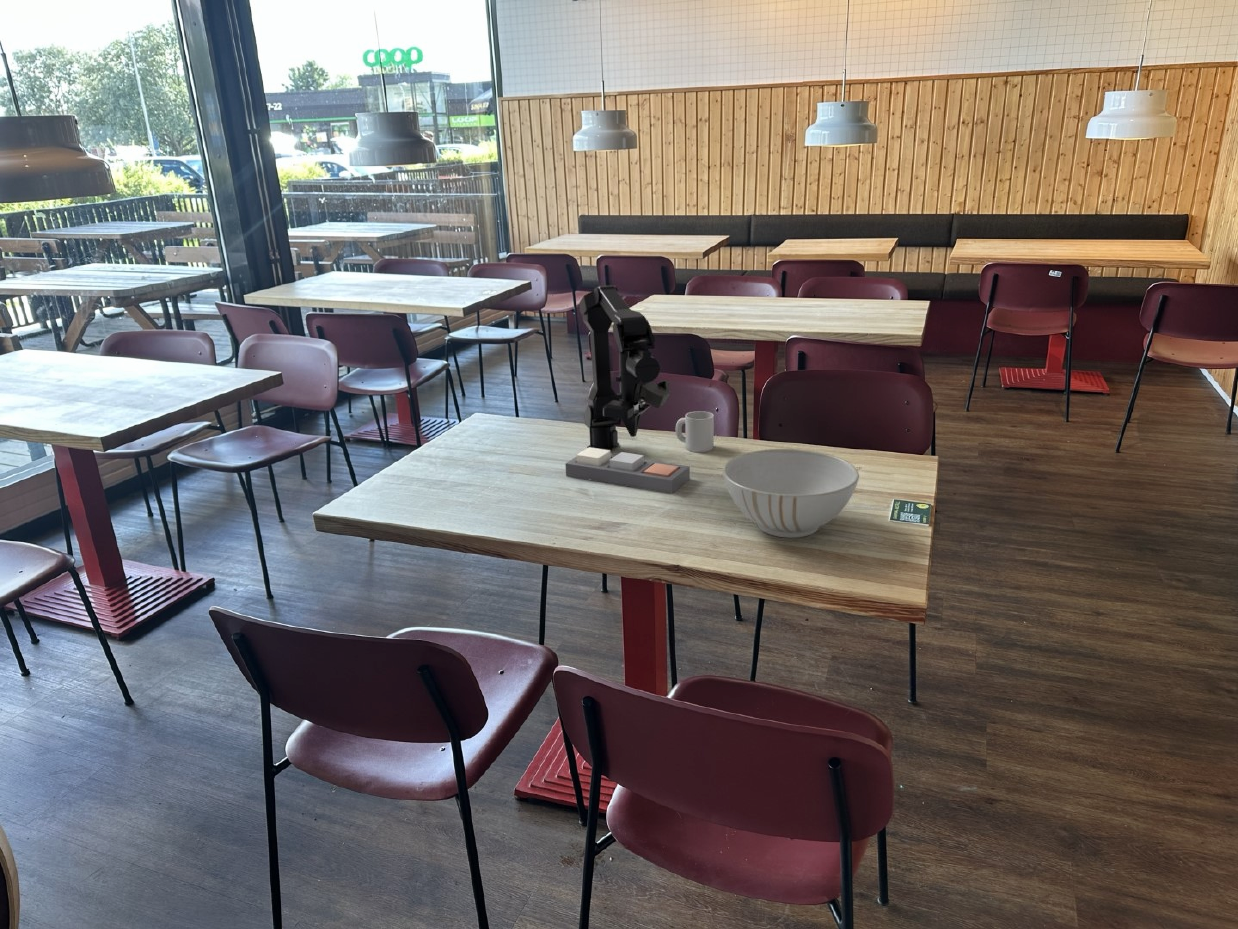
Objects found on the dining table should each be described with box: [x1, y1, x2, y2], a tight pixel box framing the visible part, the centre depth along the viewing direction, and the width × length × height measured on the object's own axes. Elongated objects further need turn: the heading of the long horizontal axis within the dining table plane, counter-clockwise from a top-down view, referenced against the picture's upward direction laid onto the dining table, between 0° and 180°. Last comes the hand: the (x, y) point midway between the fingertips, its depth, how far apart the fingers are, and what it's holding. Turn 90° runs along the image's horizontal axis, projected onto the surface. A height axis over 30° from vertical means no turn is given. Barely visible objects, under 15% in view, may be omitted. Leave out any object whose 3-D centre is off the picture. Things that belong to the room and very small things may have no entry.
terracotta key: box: [644, 463, 678, 477], centre depth 203 cm, size 6×6×2 cm
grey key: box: [609, 451, 645, 472], centre depth 207 cm, size 6×6×2 cm
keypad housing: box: [565, 453, 691, 495], centre depth 207 cm, size 28×10×3 cm, turn 62°
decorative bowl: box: [722, 448, 860, 539], centre depth 177 cm, size 27×27×12 cm
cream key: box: [576, 447, 612, 466], centre depth 211 cm, size 6×6×2 cm
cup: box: [675, 410, 715, 453], centre depth 225 cm, size 7×10×9 cm
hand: (633, 436), depth 204 cm, fingers closed
